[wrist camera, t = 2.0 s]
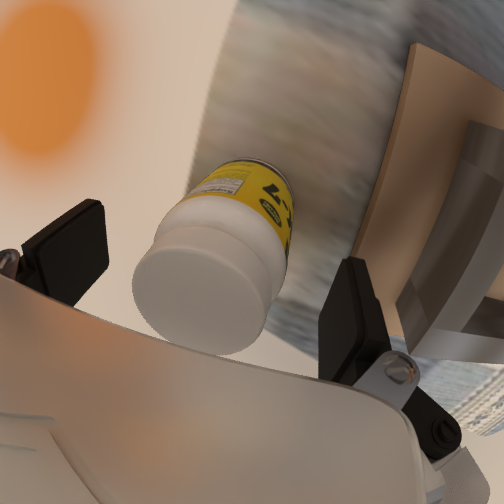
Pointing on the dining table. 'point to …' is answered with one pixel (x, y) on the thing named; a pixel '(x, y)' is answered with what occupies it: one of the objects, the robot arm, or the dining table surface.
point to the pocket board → (420, 168)
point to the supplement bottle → (218, 259)
